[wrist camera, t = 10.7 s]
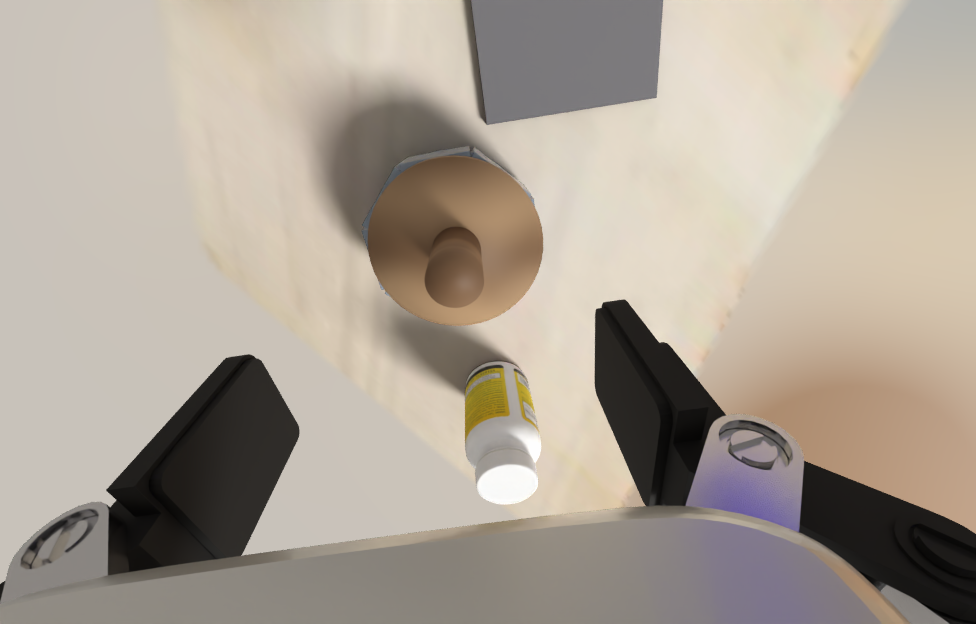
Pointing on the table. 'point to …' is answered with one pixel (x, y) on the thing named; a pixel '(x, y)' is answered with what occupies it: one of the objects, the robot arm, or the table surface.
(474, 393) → the supplement bottle
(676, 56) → the table surface
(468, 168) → the lid
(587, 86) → the mat
